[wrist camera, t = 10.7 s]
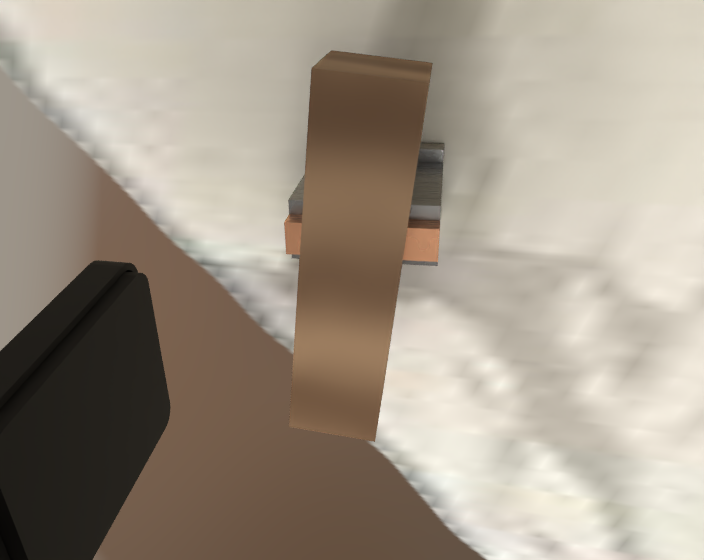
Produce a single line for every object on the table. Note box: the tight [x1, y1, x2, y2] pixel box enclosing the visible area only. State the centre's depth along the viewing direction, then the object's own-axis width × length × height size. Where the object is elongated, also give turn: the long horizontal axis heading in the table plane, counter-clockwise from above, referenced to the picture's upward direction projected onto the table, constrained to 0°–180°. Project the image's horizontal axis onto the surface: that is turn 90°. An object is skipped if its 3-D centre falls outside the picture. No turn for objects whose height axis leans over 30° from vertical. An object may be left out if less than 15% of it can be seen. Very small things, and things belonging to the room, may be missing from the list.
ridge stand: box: [284, 143, 444, 266], centre depth 33 cm, size 4×7×9 cm, turn 91°
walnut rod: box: [289, 50, 432, 442], centre depth 27 cm, size 16×4×4 cm, turn 175°
